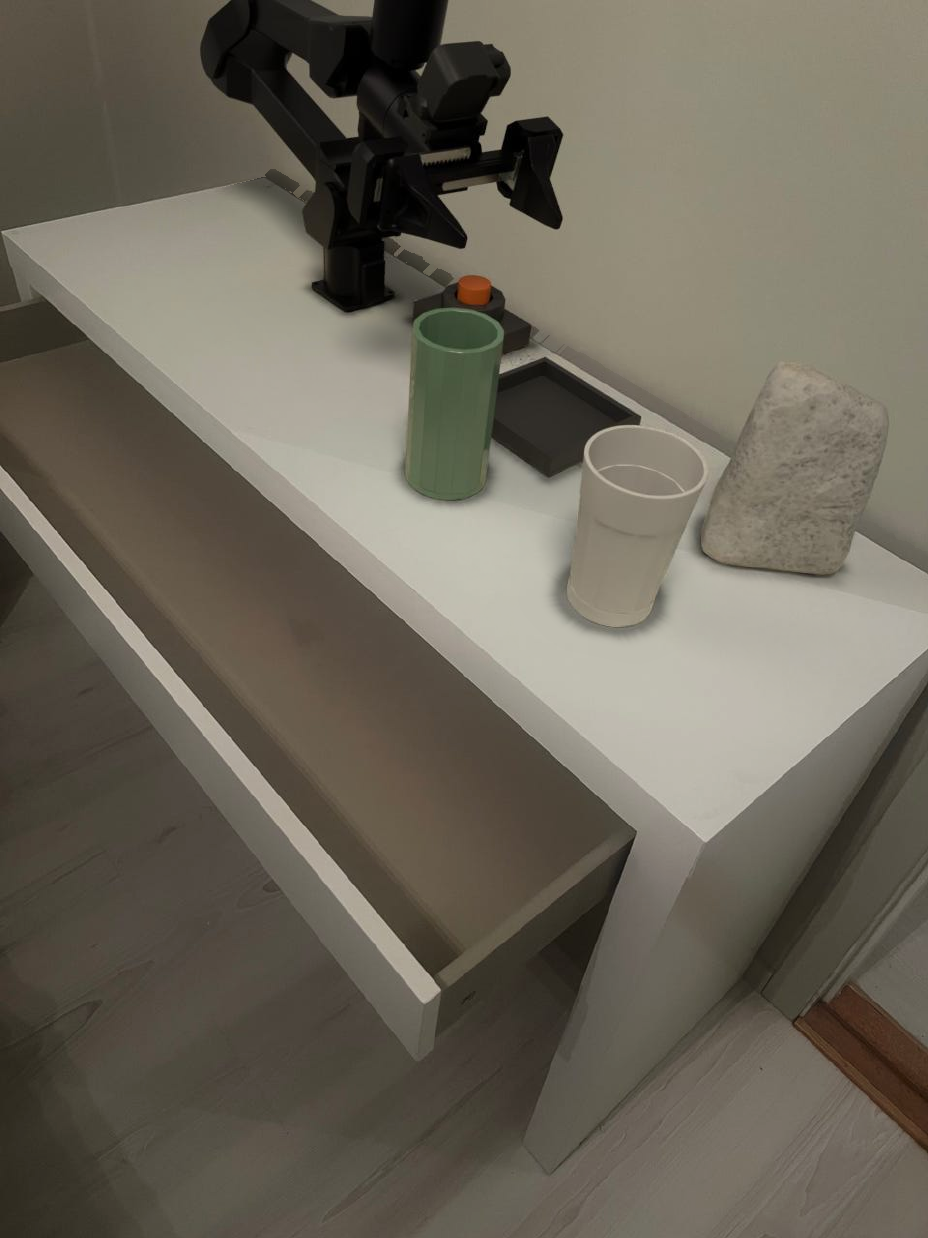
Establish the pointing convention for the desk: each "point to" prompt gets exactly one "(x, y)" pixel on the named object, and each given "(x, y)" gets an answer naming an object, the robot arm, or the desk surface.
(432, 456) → the canister
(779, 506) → the decorative stone
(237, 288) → the desk surface
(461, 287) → the button
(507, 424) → the drip tray
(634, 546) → the cup
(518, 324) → the push button box
